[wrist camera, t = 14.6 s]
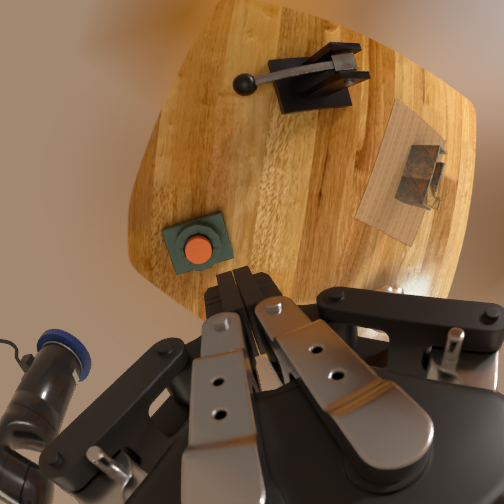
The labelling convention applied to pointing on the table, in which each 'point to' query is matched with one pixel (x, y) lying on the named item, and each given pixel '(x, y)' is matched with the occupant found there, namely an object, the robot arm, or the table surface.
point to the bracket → (316, 81)
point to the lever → (293, 73)
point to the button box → (203, 226)
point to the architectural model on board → (404, 176)
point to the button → (198, 249)
